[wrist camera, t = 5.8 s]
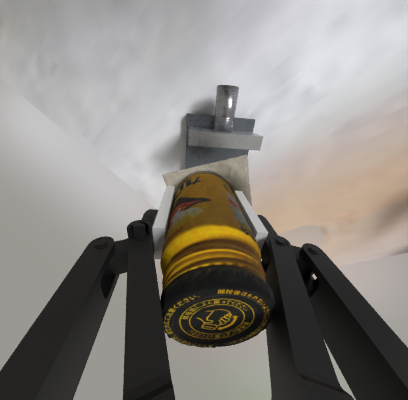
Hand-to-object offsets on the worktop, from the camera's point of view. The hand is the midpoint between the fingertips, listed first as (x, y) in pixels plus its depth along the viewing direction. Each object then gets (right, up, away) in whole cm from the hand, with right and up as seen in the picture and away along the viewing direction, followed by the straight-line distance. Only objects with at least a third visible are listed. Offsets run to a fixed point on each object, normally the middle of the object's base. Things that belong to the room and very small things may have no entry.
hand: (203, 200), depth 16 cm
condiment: (+1, +1, +1) cm, 1 cm away
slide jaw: (+3, +14, +11) cm, 18 cm away
